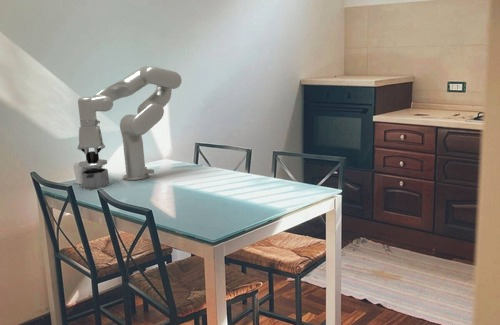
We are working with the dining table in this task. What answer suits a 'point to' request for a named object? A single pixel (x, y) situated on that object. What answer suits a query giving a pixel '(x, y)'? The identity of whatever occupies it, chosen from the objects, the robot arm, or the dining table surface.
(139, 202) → the dining table surface
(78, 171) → the white cup
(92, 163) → the lid
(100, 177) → the pot
